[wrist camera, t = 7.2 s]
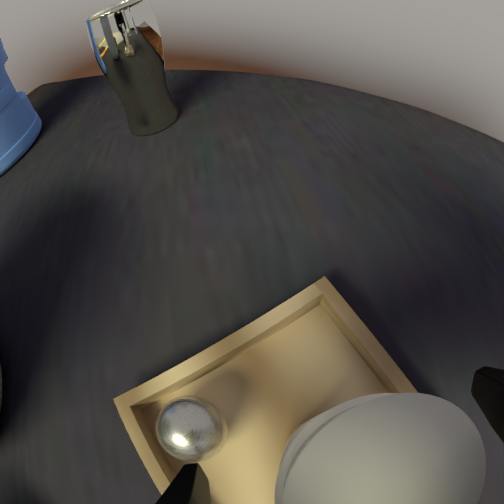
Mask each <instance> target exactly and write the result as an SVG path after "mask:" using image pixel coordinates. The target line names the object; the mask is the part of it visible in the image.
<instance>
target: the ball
mask: <svg viewBox="0 0 504 504" xmlns="http://www.w3.org/2000/svg"><path fill="white" fill-rule="evenodd" d="M155 430H156V435H157V438H158V441H159V443H160V444H161V446H162V447H163V448H164V450H165V451H166V452H167V453H168V454H170V455H171V456H173V457H174V458H176V459H179V460H181V461H185V462H202V461H206V460H208V459H210V458H212V457H214V456H215V455H216V454H218V453H219V452H220V451H221V449H222V448H223V446H224V444H225V442H226V439H227V435H228V428H227V422H226V419H225V417H224V415H223V413H222V412H221V410H220V409H219V408H218V407H217V406H216V405H215V404H214V403H212V402H211V401H209V400H207V399H205V398H203V397H199V396H193V395H185V396H180V397H177V398H174V399H172V400H171V401H169V402H168V403H166V404H165V405H164V406H163V407H162V409H161V410H160V412H159V414H158V416H157V419H156V425H155Z"/></svg>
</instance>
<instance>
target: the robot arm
mask: <svg viewBox="0 0 504 504" xmlns="http://www.w3.org/2000/svg"><path fill="white" fill-rule="evenodd" d="M471 392H472V396H473V397H474V399H475V401H476V402H477V404H478V405H479V407H480V409H481V410H482V412H483V414H484V415H485V417H486V419H487V420H488V422H489V423H490V425H491V427H492V428H493V429H494V431H495V432H496V433H497V435H498V436H499V437H500V439H501V440H502V441H503V443H504V370H501V369H496V368H492V367H487V366H484V367H482V368H480V369H479V370H477V371H476V372H475V373H474V378H473V383H472V388H471ZM156 504H211V497H210V487H209V481H208V478H207V476H206V474H205V473H204V471H203V469H202V468H201V466H200V464H198V463H187V464H184V465H183V466H182V468H181V469H180V471H179V472H178V473H177V475H176V476H175V478H174V479H173V480H172V482H171V483H170V485H169V486H168V487H167V489H166V490H165V491H164V493H163V494H162V496H161V497H160V498H159V500H158V501H157V502H156Z"/></svg>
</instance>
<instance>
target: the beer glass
mask: <svg viewBox="0 0 504 504" xmlns="http://www.w3.org/2000/svg"><path fill="white" fill-rule="evenodd" d="M84 22H85V25H86V28H87V32H88V36H89V40H90V44H91V47H92V50H93V53H94V55H95V57H96V60H97V62H98V65H99V66H100V68H101V70H102V72H103V73H104V75H105V77H106V78H107V80H108V81H109V83H110V84H111V86H112V87H113V89H114V90H115V92H116V94H117V95H118V97H119V98H120V100H121V102H122V104H123V106H124V109H125V112H126V116H127V121H128V126H129V130H130V132H131V133H132V134H134V135H137V136H147V135H151V134H155V133H157V132H160V131H162V130H164V129H166V128H167V127H169V126H170V125H171V124H173V123H174V122H175V121H176V119H177V118H178V115H179V111H178V108H177V106H176V104H175V103H174V101H173V99H172V97H171V95H170V93H169V90H168V87H167V83H166V76H165V66H164V53H163V45H162V39H161V34H160V30H159V27H158V23H157V20H156V17H155V14H154V11H153V9H152V6H151V4H150V1H149V0H126V1H123V2H120V3H117V4H115V5H112V6H110V7H107V8H105V9H103V10H101V11H99V12H96V13H94V14H93V15H91V16H89V17H87V18H86V19H85V20H84Z"/></svg>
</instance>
